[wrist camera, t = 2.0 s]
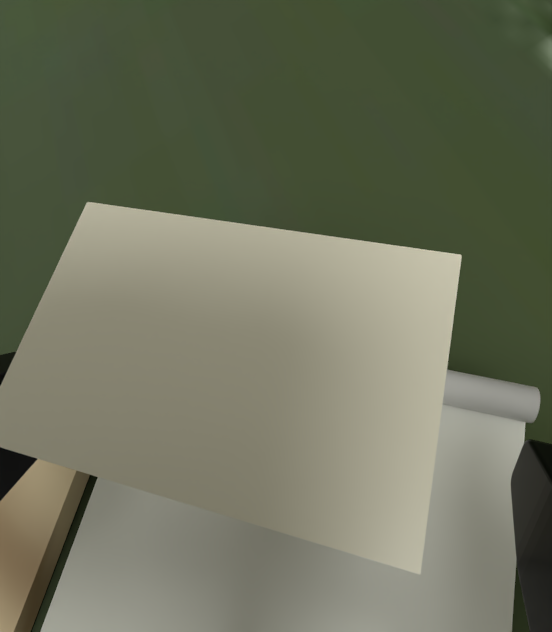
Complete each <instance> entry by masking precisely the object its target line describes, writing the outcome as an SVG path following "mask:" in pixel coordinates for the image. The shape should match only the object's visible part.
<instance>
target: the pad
mask: <svg viewBox="0 0 552 632" xmlns="http://www.w3.org/2000/svg"><path fill="white" fill-rule="evenodd" d="M89 476H90V474H86V473H83V472H80V471H77V470H73V469H70V468H67V467H63V466H60V465H57V464H53V463H50V462H47V461H44V460H40V459H37V460H36V462H35V463H34V464H33V465H32V466H31V467H30V468H29V469H28V471H27V472H26V473H25V474H24V475H23V476H22V477H21V478H20V480H19V481H18V482H17V483H16V484H15V485H14V486H13V488H12V489H11V490H10V491H9V492H8V493H7V494H6V495H5V497H4V498H3V499H2V500H1V501H0V632H31V630H32V627H33V624H34V622H35V619H36V616H37V614H38V611H39V608H40V606H41V603H42V601H43V598H44V595H45V593H46V590H47V587H48V585H49V582H50V579H51V577H52V574H53V571H54V569H55V566H56V563H57V561H58V558H59V556H60V553H61V550H62V548H63V545H64V542H65V540H66V537H67V534H68V532H69V529H70V526H71V524H72V521H73V518H74V516H75V513H76V511H77V508H78V505H79V503H80V500H81V497H82V495H83V492H84V489H85V487H86V484H87V481H88V479H89Z"/></svg>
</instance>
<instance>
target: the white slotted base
mask: <svg viewBox="0 0 552 632" xmlns="http://www.w3.org/2000/svg"><path fill="white" fill-rule="evenodd" d="M539 407H540V392H539V390H538V388H537V387H532V386H527V385H522V384H517V383H512V382H507V381H502V380H497V379H492V378H487V377H482V376H477V375H472V374H467V373H462V372H457V371H452V370H447V373H446V380H445V388H444V396H443V404H442V411H441V419H440V427H439V435H438V442H437V450H436V458H435V465H434V473H433V481H432V489H431V496H430V504H429V512H428V520H427V527H426V535H425V543H424V550H423V558H422V566H421V574H416V573H413V572H410V571H407V570H403V569H400V568H397V567H393V566H390V565H387V564H383V563H380V562H377V561H374V560H370V559H367V558H364V557H360V556H357V555H354V554H350V553H347V552H344V551H341V550H337V549H334V548H331V547H327V546H324V545H321V544H317V543H314V542H311V541H308V540H304V539H301V538H298V537H294V536H291V535H288V534H284V533H281V532H278V531H275V530H271V529H268V528H265V527H261V526H258V525H255V524H251V523H248V522H245V521H242V520H238V519H235V518H232V517H228V516H225V515H222V514H218V513H215V512H212V511H209V510H205V509H202V508H199V507H195V506H192V505H189V504H185V503H182V502H179V501H176V500H172V499H169V498H166V497H162V496H159V495H156V494H152V493H149V492H146V491H143V490H139V489H136V488H133V487H129V486H126V485H123V484H119V483H116V482H113V481H110V480H106V479H103V478H100V477H98V478H97V481H96V483H95V486H94V489H93V491H92V494H91V497H90V499H89V502H88V505H87V508H86V510H85V513H84V516H83V518H82V521H81V524H80V526H79V529H78V532H77V534H76V537H75V540H74V543H73V545H72V548H71V551H70V553H69V556H68V559H67V561H66V564H65V567H64V569H63V572H62V575H61V578H60V580H59V583H58V586H57V588H56V591H55V594H54V596H53V599H52V602H51V604H50V607H49V610H48V613H47V615H46V618H45V621H44V623H43V626H42V629H41V631H40V632H512V620H513V604H514V589H515V574H516V549H515V536H514V523H513V511H512V498H511V476H512V473H513V470H514V467H515V465H516V462H517V460H518V457H519V454H520V452H521V449H522V447H523V445H524V436H525V422H528V423H533V422H534V421H535V419H536V417H537V415H538V411H539Z"/></svg>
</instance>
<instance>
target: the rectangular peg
mask: <svg viewBox="0 0 552 632" xmlns="http://www.w3.org/2000/svg"><path fill="white" fill-rule="evenodd" d="M461 257H462V255H459V254H452V253H445V252H438V251H430V250H423V249H416V248H409V247H402V246H395V245H388V244H381V243H374V242H367V241H360V240H353V239H346V238H339V237H332V236H325V235H317V234H310V233H303V232H296V231H289V230H282V229H275V228H268V227H261V226H254V225H247V224H240V223H233V222H226V221H219V220H212V219H204V218H197V217H190V216H183V215H176V214H169V213H162V212H155V211H148V210H141V209H134V208H127V207H120V206H113V205H106V204H99V203H91V202H87V204H86V206H85V208H84V210H83V212H82V214H81V216H80V218H79V221H78V223H77V225H76V227H75V229H74V231H73V233H72V235H71V237H70V240H69V242H68V244H67V246H66V248H65V250H64V252H63V254H62V256H61V259H60V261H59V263H58V265H57V267H56V269H55V271H54V273H53V276H52V278H51V280H50V282H49V284H48V286H47V288H46V290H45V292H44V295H43V297H42V299H41V301H40V303H39V305H38V307H37V309H36V312H35V314H34V316H33V318H32V320H31V322H30V324H29V326H28V328H27V331H26V333H25V335H24V337H23V339H22V341H21V343H20V345H19V347H18V350H17V352H16V354H15V356H14V358H13V360H12V362H11V364H10V367H9V369H8V371H7V373H6V375H5V377H4V379H3V381H2V383H1V386H0V447H1V448H4V449H7V450H11V451H14V452H17V453H20V454H24V455H27V456H30V457H34V458H37V459H40V460H44V461H47V462H50V463H53V464H57V465H60V466H63V467H67V468H70V469H73V470H77V471H80V472H83V473H86V474H90V475H93V476H96V477H100V478H103V479H106V480H110V481H113V482H116V483H119V484H123V485H126V486H129V487H133V488H136V489H139V490H143V491H146V492H149V493H152V494H156V495H159V496H162V497H166V498H169V499H172V500H176V501H179V502H182V503H185V504H189V505H192V506H195V507H199V508H202V509H205V510H209V511H212V512H215V513H218V514H222V515H225V516H228V517H232V518H235V519H238V520H242V521H245V522H248V523H251V524H255V525H258V526H261V527H265V528H268V529H271V530H275V531H278V532H281V533H284V534H288V535H291V536H294V537H298V538H301V539H304V540H308V541H311V542H314V543H317V544H321V545H324V546H327V547H331V548H334V549H337V550H341V551H344V552H347V553H350V554H354V555H357V556H360V557H364V558H367V559H370V560H374V561H377V562H380V563H383V564H387V565H390V566H393V567H397V568H400V569H403V570H407V571H410V572H413V573H416V574H421V566H422V558H423V550H424V543H425V535H426V527H427V520H428V512H429V504H430V496H431V489H432V481H433V473H434V465H435V458H436V450H437V442H438V435H439V427H440V419H441V411H442V404H443V396H444V388H445V380H446V373H447V365H448V357H449V350H450V342H451V334H452V326H453V319H454V311H455V303H456V295H457V288H458V280H459V272H460V265H461Z"/></svg>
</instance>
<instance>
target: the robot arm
mask: <svg viewBox="0 0 552 632" xmlns="http://www.w3.org/2000/svg"><path fill="white" fill-rule="evenodd" d="M15 354H16V352H12V353H8V354H3V355H0V386H1V383H2V381H3V379H4V377H5V375H6V373H7V371H8V369H9V367H10V364H11V362H12V360H13V358H14V356H15ZM36 460H37V458H34V457H30V456H27V455H24V454H20V453H17V452H14V451H11V450H7V449H4V448H1V447H0V501H1V500H2V499H3V498H4V497H5V495H6V494H7V493H8V492H9V491H10V490H11V489H12V488H13V486H14V485H15V484H16V483H17V482H18V481H19V480H20V478H21V477H22V476H23V475H24V474H25V473H26V472H27V471H28V469H29V468H30V467H31V466H32V465H33V464H34V463H35V462H36ZM511 498H512V511H513V523H514V536H515V549H516V559H517V568H518V573H519V579H520V584H521V589H522V594H523V599H524V604H525V609H526V614H527V619H528V624H529V629H530V632H552V444H549V443H545V442H540V441H536V440H527V441H526V442H525V443H524V445H523V447H522V449H521V452H520V454H519V457H518V460H517V462H516V465H515V467H514V470H513V473H512V476H511Z"/></svg>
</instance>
